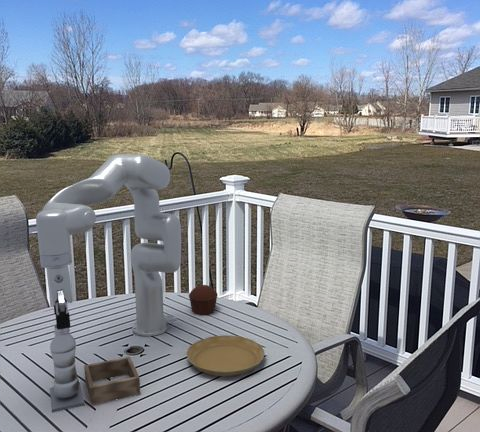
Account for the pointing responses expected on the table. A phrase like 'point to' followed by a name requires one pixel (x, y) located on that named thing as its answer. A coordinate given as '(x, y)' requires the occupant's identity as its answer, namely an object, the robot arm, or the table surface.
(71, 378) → the plastic bottle
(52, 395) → the slate tile
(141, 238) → the robot arm
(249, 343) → the plant saucer
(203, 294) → the muffin
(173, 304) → the table surface
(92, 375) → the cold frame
